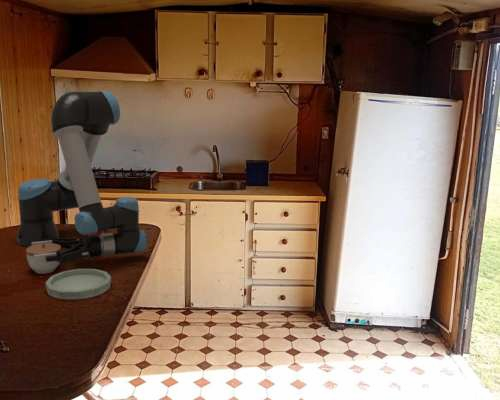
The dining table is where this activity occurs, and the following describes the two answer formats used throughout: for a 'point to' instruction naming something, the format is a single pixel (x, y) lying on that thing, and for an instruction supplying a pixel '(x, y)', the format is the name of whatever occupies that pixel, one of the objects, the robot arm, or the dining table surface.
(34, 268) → the lidded jar
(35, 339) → the dining table surface
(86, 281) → the rimmed tray
